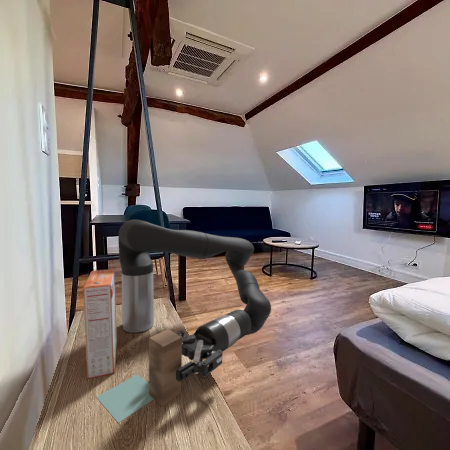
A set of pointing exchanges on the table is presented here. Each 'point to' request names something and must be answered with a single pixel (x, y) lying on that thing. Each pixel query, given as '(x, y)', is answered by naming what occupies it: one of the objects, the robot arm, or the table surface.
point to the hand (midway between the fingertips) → (163, 366)
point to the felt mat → (126, 397)
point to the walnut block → (164, 366)
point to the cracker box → (100, 323)
